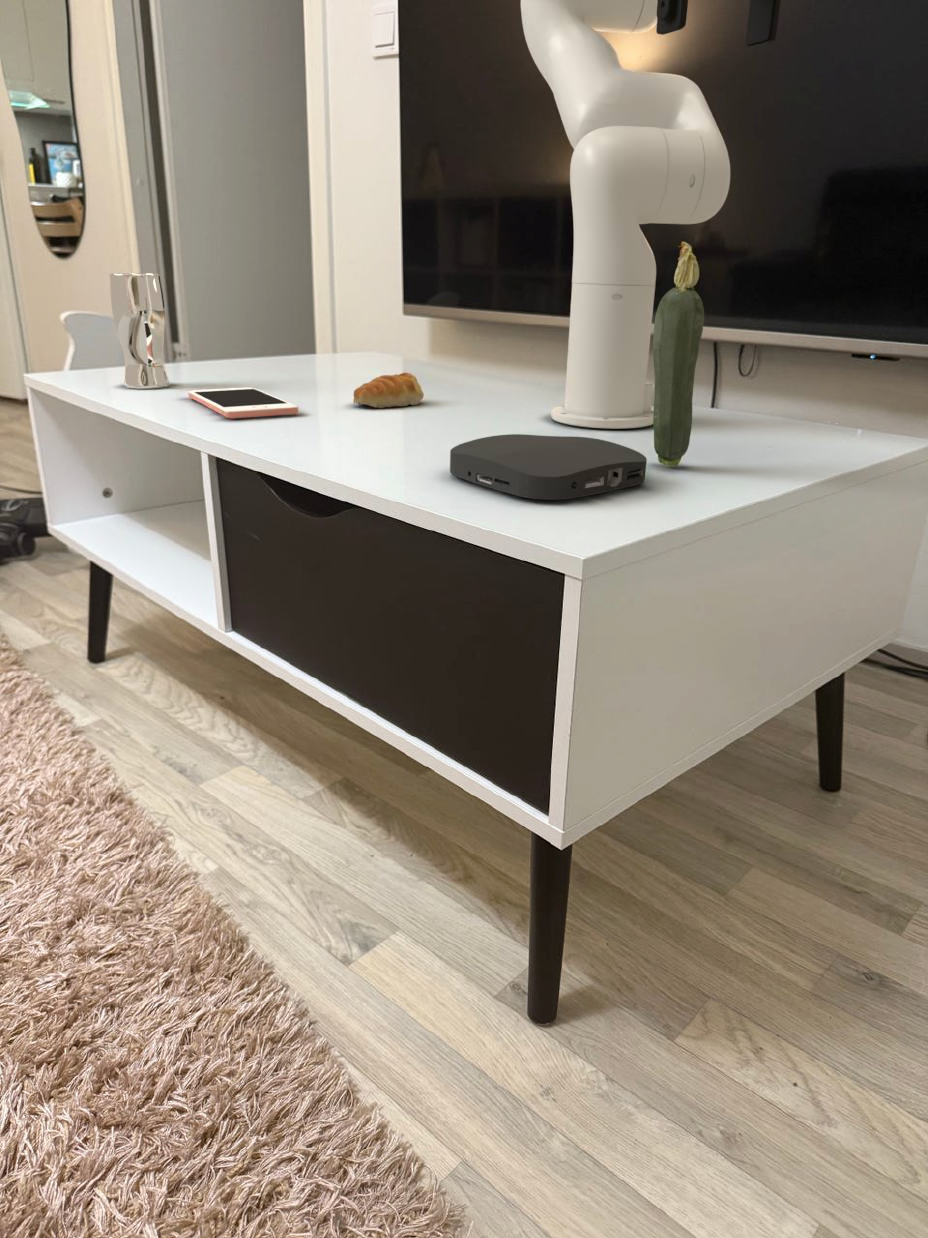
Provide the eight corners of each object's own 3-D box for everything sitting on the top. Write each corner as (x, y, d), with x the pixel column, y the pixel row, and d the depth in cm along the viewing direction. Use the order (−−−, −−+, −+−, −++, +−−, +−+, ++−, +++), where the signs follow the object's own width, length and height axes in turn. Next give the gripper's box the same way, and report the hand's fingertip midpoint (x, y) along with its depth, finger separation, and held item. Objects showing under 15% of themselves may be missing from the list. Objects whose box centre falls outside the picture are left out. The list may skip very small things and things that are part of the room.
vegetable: (687, 474, 84) (714, 241, 76) (640, 471, 85) (662, 240, 77) (686, 464, 88) (711, 242, 80) (641, 461, 89) (662, 241, 81)
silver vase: (111, 388, 126) (97, 273, 121) (136, 381, 133) (124, 272, 127) (158, 390, 125) (146, 274, 120) (181, 383, 132) (170, 273, 126)
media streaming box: (549, 455, 91) (550, 425, 89) (663, 484, 80) (666, 450, 79) (432, 473, 82) (432, 440, 81) (542, 509, 71) (544, 472, 70)
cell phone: (227, 419, 105) (226, 410, 104) (187, 397, 119) (186, 390, 119) (299, 414, 109) (299, 406, 109) (252, 393, 123) (252, 386, 123)
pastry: (376, 411, 113) (376, 380, 111) (340, 405, 117) (339, 375, 115) (427, 403, 119) (427, 373, 118) (391, 398, 123) (391, 369, 122)
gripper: (792, -176, 78) (762, 55, 84) (624, -222, 71) (607, 34, 77) (861, -212, 71) (824, 41, 78) (685, -266, 64) (660, 16, 71)
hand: (716, 37), depth 78 cm, fingers open, 9 cm apart
